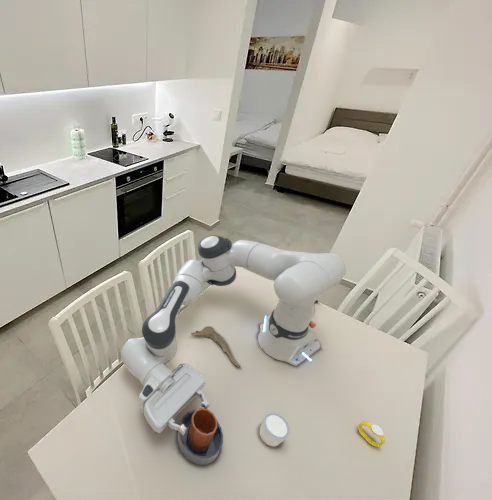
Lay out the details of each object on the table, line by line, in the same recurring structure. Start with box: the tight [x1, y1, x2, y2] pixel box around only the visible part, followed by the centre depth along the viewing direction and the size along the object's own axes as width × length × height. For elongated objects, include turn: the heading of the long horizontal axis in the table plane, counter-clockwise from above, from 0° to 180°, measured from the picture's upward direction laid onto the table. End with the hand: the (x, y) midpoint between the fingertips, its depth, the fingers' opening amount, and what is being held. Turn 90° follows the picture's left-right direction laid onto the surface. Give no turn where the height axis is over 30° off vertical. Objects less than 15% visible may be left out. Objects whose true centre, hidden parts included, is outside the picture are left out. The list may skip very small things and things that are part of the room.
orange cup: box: [187, 407, 218, 452], centre depth 77 cm, size 6×6×12 cm
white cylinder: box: [259, 412, 291, 447], centre depth 80 cm, size 7×7×7 cm
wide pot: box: [177, 409, 224, 466], centre depth 79 cm, size 12×12×6 cm
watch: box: [357, 421, 386, 448], centre depth 80 cm, size 6×3×6 cm, turn 27°
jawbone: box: [190, 325, 242, 369], centre depth 106 cm, size 9×20×2 cm, turn 49°
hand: (197, 419), depth 76 cm, fingers open, 8 cm apart
